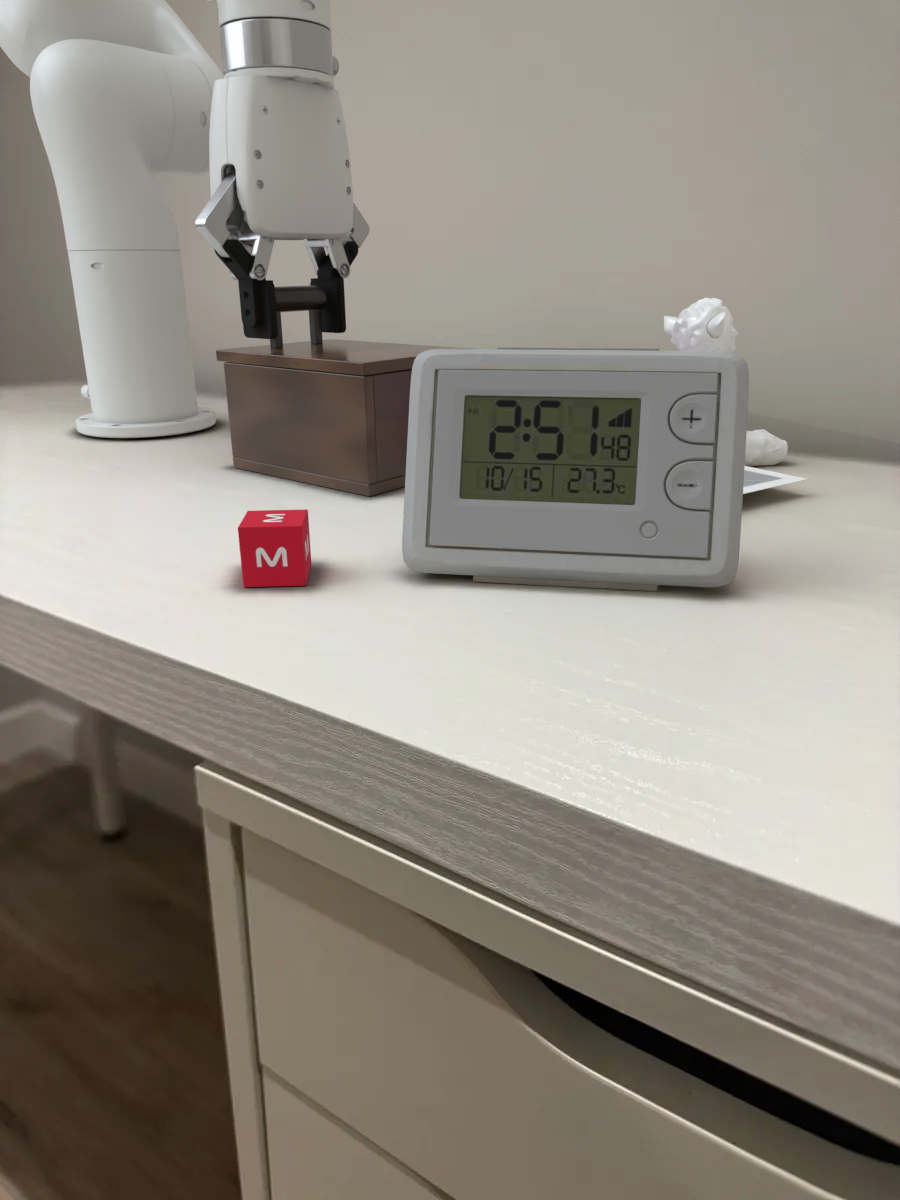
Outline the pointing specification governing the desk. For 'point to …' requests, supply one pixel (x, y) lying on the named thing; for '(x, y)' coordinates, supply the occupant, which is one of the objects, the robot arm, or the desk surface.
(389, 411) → the chest
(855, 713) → the desk surface
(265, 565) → the red letter cube
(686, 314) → the seated beast figurine
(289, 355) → the lid
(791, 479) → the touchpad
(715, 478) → the digital clock
